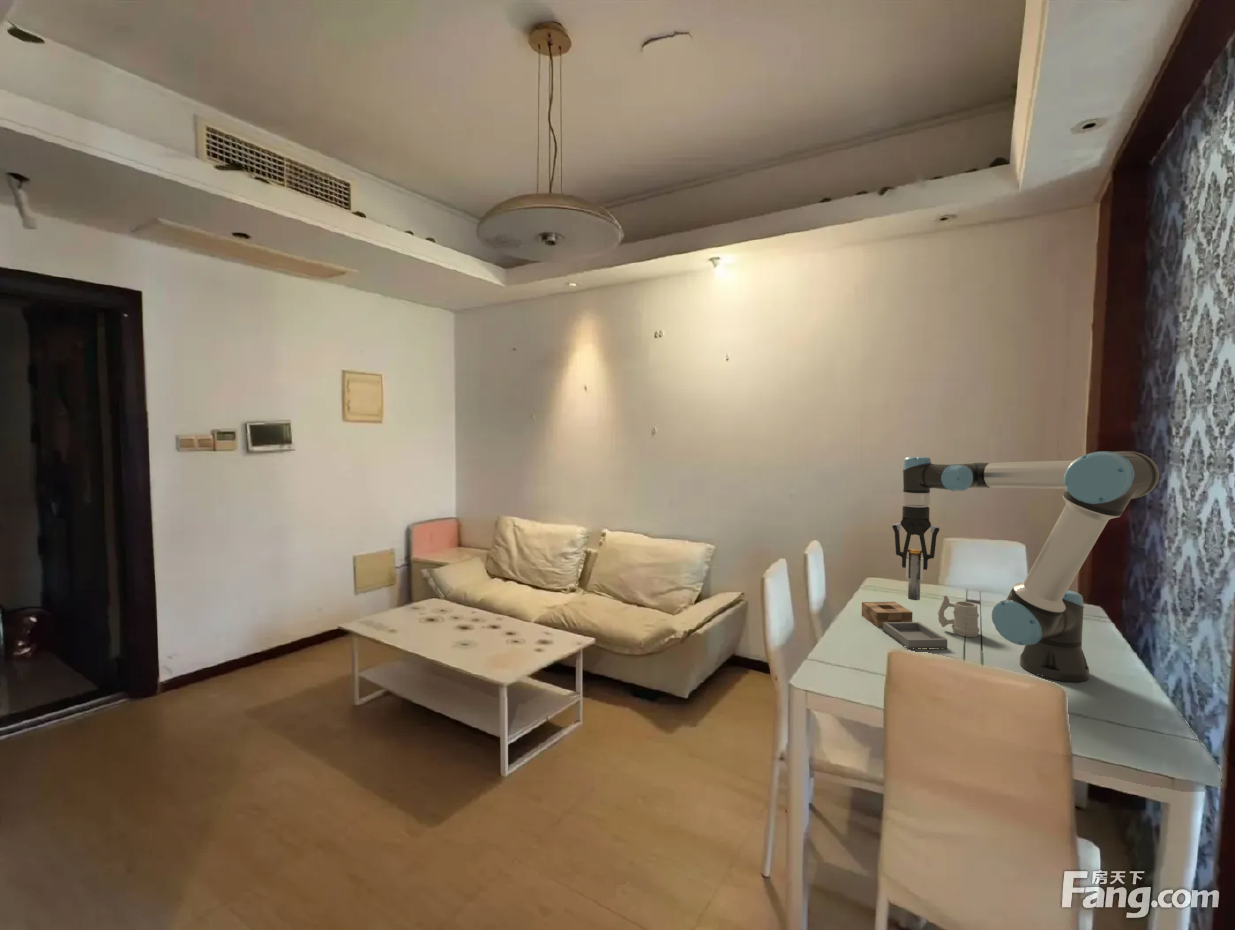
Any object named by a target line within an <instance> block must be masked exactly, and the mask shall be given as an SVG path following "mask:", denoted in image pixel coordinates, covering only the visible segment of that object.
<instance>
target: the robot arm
mask: <svg viewBox="0 0 1235 930" xmlns="http://www.w3.org/2000/svg"><path fill="white" fill-rule="evenodd" d="M903 460H904V461H903V469H902V472H903V473H902V477H903V479H902V480H903V485H902V486H903V489H902V504H903V506H902V515H901V516H902V517H901V519H900V522H899V523H893V524H892V526H891V527H892V530H893V532H894V541H895V542H894V544H895V554H896V556H899V557H901V568H903V569H905V579H906V580H908V578H909V556H908V553H909V552H908V549H909V546H910V541H911V536H913V535H916V536H919V540H920V547H921V550H922V553H921V555H922V557H921V567H920V581H923V580H924V570H925V571H926V570H928V567H929V566H928V565H929V564H928V563H929V562H928V561H929V559H930V560H931V559H935V556H936V555H935V554H936V544H937V535H938V534H939V532H940V527H939V526H935V525H934V524H932V523H931V521H930V507H929V506H930V503H931V502H930V501H931V500H930V499H931V489H937V490H946V491H952V492H955V491H957V492H958V491H959V492H963V491H967V490H968V489H973V488H974V489H976V488H977V489H981V488H982V489H983V488H985V489H990V488H993V489H994V488H997V489H999V488H1002V489H1003V488H1005V489H1008V488H1009V489H1054V490H1055V489H1064V491H1063V493H1062V495H1061V496H1062V499H1063V500H1064V502H1065V506H1064V507H1063V509H1062V512H1061V513H1060V514H1059V517H1058V518H1057V520H1056V522H1055V524H1054V526H1053V528H1052V529H1051V531H1050V534H1049V535H1048V536H1047V538H1046V541H1045V542H1044V544H1043V546H1042V547H1041V550H1040V551H1039V554H1038V555H1037V557H1036V559H1035V560H1034V563H1033V564H1032V565H1031V568H1030V570H1029V572H1028V573H1027V576H1026V578H1025V580H1024V581H1023V582H1018V583H1014V585H1013V587H1012V589H1011V590H1010V592H1009V594H1008V596H1007V598H1005V599H1004V600H1000V601H999V602H997V603H996V604H995V605H994V607H993V608H992V611H991V621H992V623H993V624H994V627H995V630H996V632H998V634H999V635H1000V636H1001V637H1002V638H1003V639H1005V640H1006V641H1008V642H1010V643H1012V644H1015V645H1018V646H1024V648H1023V650H1022V652H1021V654H1020V656H1019V664H1020V667H1021V668H1022V669H1023V670H1025V671H1027V670H1028V671H1027V672H1029V673H1031V674H1033V675H1036V674H1039V675H1040V676H1039V675H1038V676H1039V677H1043V678H1046V679H1050V680H1054V681H1060V682H1069V683H1079V682H1086V681H1088V680H1089V679H1090V667H1089V665H1088V662H1087V658H1086V657H1085V653H1084V650H1083V647H1082V646H1083V628H1084V627H1083V626H1084V625H1083V624H1084V608H1085V606H1084V598H1083V595H1082V594H1080V593H1079V592H1076V591H1073V590H1069V588H1070V587H1071V585H1072V584H1073V583H1074V580H1075V578H1076V576H1077V575H1078V573H1079V571H1080V570H1081V568H1082V566H1084V565H1083V564H1084V563H1085V561H1086V560H1087V558H1088V556H1089V555H1090V552H1091V551H1092V549H1093V547H1094V546H1095V544H1096V543H1097V540H1099V537H1100V535H1101V534H1102V532H1103V531H1104V529H1105V527H1106V525H1107V524H1108V522H1109V521H1110V520H1111V519H1115V518H1116V519H1117V518H1120V517H1121V516H1122V515H1123V513H1124V511H1125V510H1126V508H1127V506H1128V505H1129V503H1130V501H1131V500H1134V499H1137V498H1141V497H1143V496H1146V495H1147V494H1149V493H1150V492H1152V491H1153V490H1154V489H1155V487H1156V486H1157V485H1158V482H1159V479H1160V470H1159V467H1158V466H1157V464H1156V463H1155V462H1154V460H1153V459H1151V458H1150V457H1148V456H1147V455H1145V454H1143V453H1140V452H1137V451H1134V450H1133V451H1131V450H1121V451H1119V450H1118V451H1108V450H1107V451H1106V450H1105V451H1104V450H1103V451H1094V452H1089V453H1087V454H1085V455H1084V454H1083V455H1081V456H1079V457H1077V458H1076V459H1074V460H1046V461H1045V460H1043V461H1042V460H1041V461H1040V460H1039V461H1013V462H1012V461H1006V462H1001V461H1000V462H972V463H956V464H955V463H953V464H944V463H943V464H939V463H932V461H931V458H930V456H929V457H927V456H906V457H905V458H904V459H903ZM901 527H902V528H903V529H904V530H905V532H906V537H905V541H904V544H903V545H904V546H903V550H902V551H901V539H900V531H901ZM929 529H930V533H932V534H931V540H930V541H931V542H930V552H929V553H928V550H927V544H926V538H925V533H926V532H927V531H928V530H929ZM1041 675H1043V676H1041Z"/></svg>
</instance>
